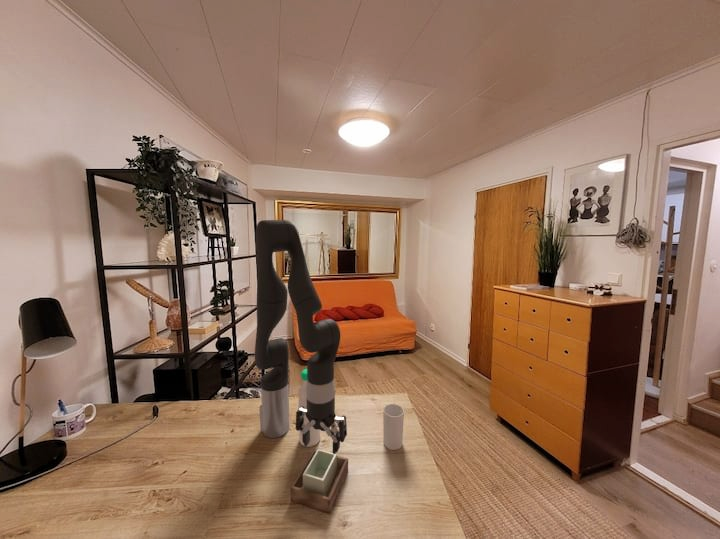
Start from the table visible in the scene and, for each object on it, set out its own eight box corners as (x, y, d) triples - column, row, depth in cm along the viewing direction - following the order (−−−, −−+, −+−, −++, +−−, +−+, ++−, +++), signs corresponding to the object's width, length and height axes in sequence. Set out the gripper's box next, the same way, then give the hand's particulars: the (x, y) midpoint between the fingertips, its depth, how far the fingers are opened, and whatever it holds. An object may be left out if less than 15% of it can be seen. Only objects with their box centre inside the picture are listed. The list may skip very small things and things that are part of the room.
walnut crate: (290, 501, 71) (290, 487, 70) (314, 461, 83) (313, 449, 83) (330, 514, 67) (329, 500, 67) (348, 470, 80) (348, 458, 79)
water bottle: (324, 436, 94) (323, 368, 90) (312, 450, 87) (311, 378, 84) (307, 430, 96) (306, 364, 93) (295, 443, 90) (292, 373, 87)
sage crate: (303, 494, 72) (302, 474, 71) (318, 467, 80) (317, 448, 80) (323, 501, 70) (323, 480, 69) (336, 472, 79) (336, 453, 78)
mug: (402, 452, 87) (403, 417, 85) (382, 449, 88) (382, 415, 86) (403, 430, 97) (403, 399, 95) (384, 427, 98) (384, 397, 96)
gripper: (289, 396, 70) (291, 451, 73) (340, 407, 66) (340, 465, 69) (303, 381, 78) (304, 431, 80) (350, 390, 73) (349, 443, 76)
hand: (321, 447), depth 74 cm, fingers open, 8 cm apart
